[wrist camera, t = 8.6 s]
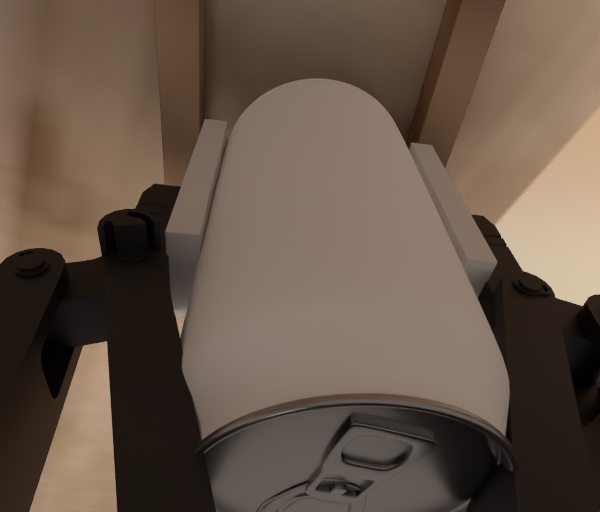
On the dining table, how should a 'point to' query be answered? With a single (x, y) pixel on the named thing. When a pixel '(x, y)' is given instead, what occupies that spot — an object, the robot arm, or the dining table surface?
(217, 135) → the robot arm
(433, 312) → the can
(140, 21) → the dining table surface
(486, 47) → the guide
